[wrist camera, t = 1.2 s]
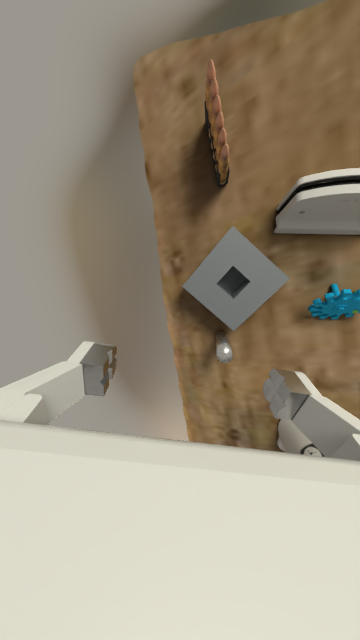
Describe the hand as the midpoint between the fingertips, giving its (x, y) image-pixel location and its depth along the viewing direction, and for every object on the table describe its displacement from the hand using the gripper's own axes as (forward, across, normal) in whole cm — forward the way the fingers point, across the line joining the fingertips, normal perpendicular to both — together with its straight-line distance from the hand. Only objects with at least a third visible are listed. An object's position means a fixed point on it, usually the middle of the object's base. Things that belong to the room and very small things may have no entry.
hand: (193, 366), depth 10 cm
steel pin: (+32, +12, -16) cm, 37 cm away
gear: (+30, +32, -3) cm, 44 cm away
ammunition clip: (+38, +3, +19) cm, 43 cm away
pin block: (+34, +11, -3) cm, 35 cm away
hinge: (+34, +24, +13) cm, 43 cm away
